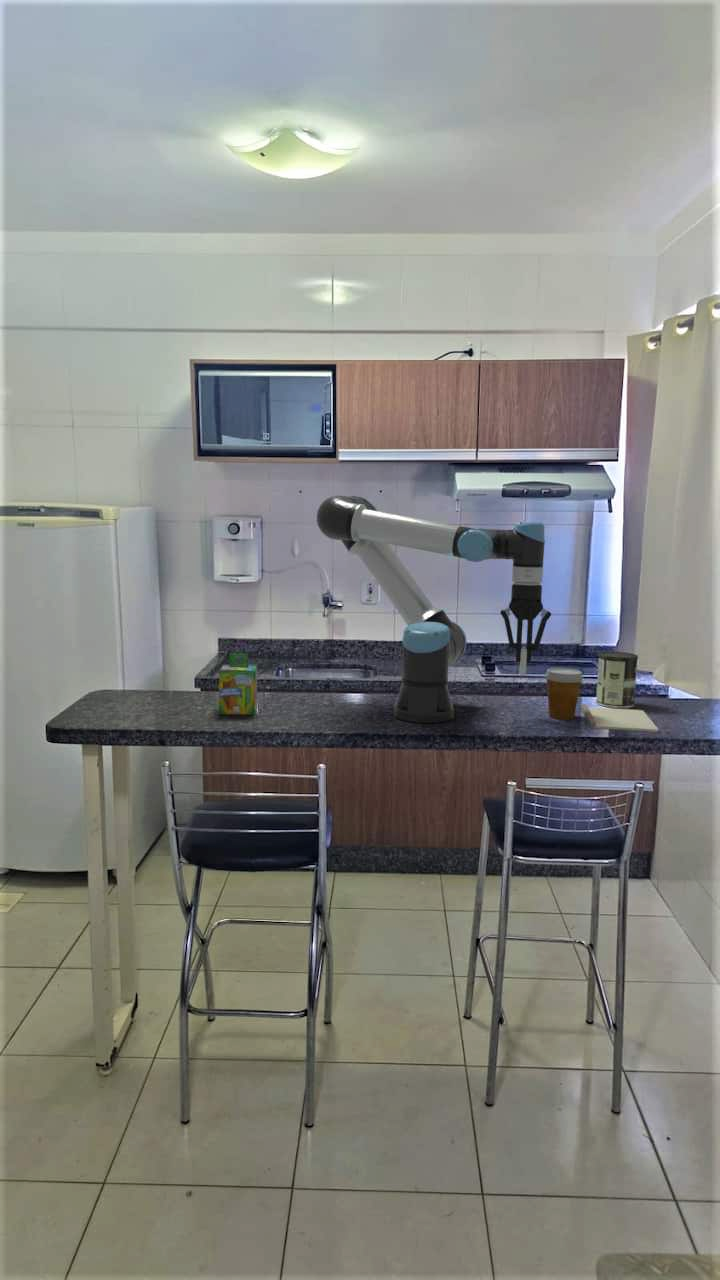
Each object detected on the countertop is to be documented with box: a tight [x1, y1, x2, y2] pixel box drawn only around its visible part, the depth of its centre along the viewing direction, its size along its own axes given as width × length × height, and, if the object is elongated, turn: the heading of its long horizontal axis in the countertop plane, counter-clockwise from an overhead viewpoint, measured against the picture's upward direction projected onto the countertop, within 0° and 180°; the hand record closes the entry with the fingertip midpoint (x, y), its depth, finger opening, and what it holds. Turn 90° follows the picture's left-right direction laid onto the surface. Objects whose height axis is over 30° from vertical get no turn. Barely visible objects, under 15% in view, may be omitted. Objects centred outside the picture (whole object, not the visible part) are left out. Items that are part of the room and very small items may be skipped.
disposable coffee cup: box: [544, 667, 584, 721], centre depth 205 cm, size 10×10×12 cm
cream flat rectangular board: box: [580, 703, 660, 733], centre depth 204 cm, size 16×20×2 cm
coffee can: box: [595, 651, 639, 709], centre depth 220 cm, size 10×10×14 cm
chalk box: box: [218, 653, 258, 716], centre depth 203 cm, size 9×9×15 cm
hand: (522, 674), depth 206 cm, fingers closed
